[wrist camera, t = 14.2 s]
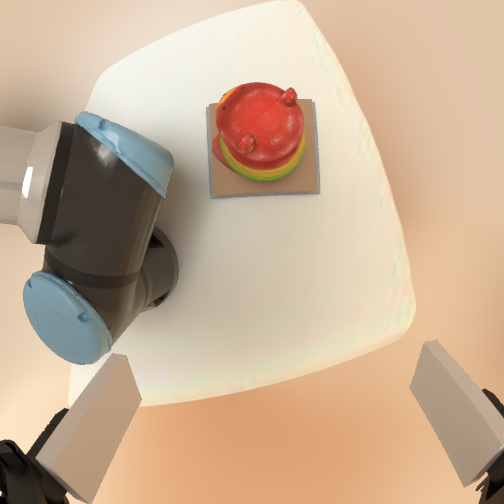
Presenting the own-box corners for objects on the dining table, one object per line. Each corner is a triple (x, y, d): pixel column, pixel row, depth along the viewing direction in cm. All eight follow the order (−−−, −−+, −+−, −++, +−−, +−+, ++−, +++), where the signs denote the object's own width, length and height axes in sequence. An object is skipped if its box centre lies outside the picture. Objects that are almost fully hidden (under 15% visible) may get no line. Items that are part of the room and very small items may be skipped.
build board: (212, 197, 41) (206, 199, 37) (207, 109, 38) (201, 101, 34) (318, 193, 40) (324, 194, 36) (313, 104, 37) (318, 96, 33)
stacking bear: (263, 94, 33) (264, 29, 16) (316, 145, 35) (360, 117, 17) (206, 147, 35) (159, 120, 18) (258, 199, 37) (254, 215, 19)
